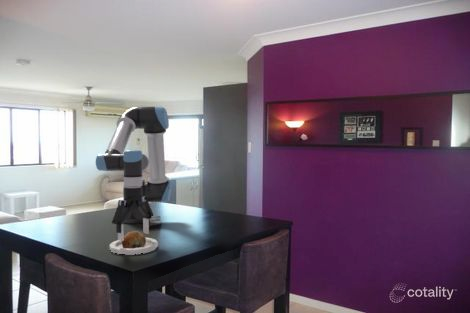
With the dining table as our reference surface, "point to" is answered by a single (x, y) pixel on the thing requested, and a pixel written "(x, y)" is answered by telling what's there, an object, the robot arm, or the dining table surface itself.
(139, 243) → the bread roll
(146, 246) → the dish
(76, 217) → the dining table surface
